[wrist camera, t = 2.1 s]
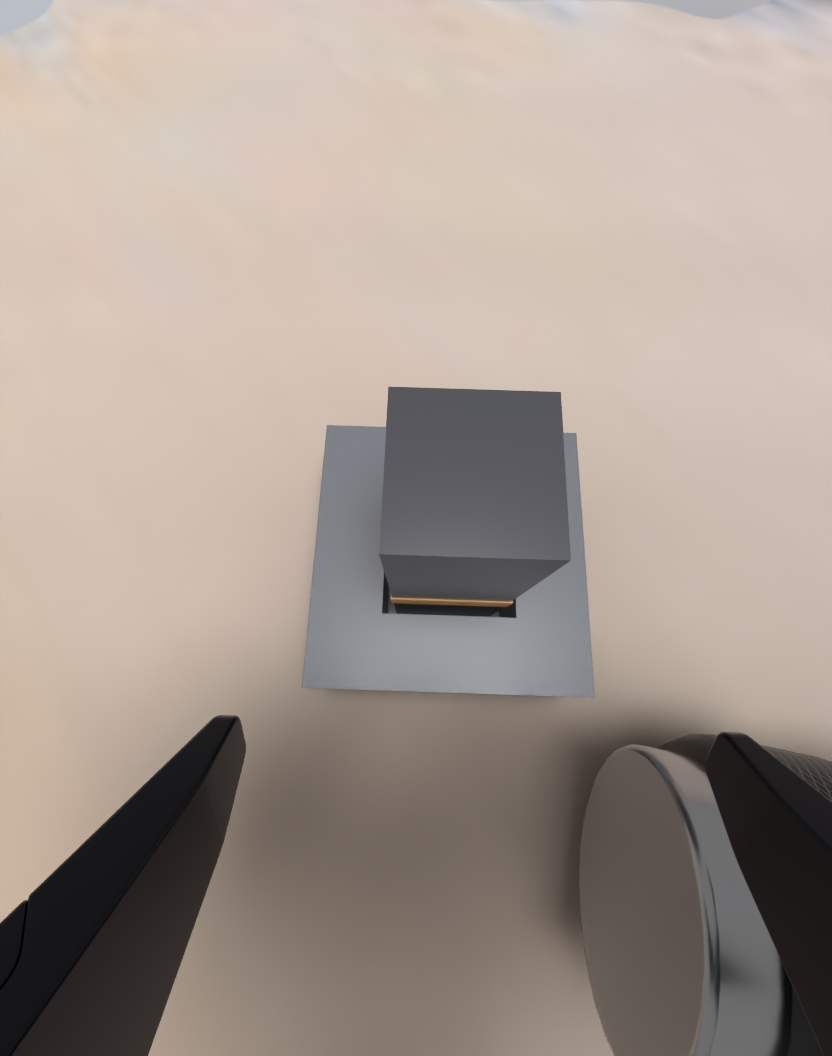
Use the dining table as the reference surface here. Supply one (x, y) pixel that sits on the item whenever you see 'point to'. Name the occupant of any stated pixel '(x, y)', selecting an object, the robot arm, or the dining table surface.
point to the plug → (471, 498)
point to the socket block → (432, 640)
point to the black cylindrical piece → (680, 913)
